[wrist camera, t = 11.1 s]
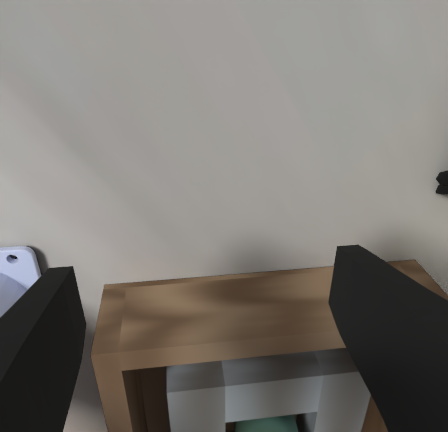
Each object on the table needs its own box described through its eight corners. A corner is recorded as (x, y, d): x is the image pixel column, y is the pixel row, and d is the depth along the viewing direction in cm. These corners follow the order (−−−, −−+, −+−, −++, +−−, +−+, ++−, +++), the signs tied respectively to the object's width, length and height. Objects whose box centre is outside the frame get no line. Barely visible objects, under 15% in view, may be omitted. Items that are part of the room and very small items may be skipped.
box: (143, 499, 33) (141, 574, 29) (104, 284, 22) (90, 354, 18) (356, 469, 35) (383, 536, 31) (415, 259, 24) (468, 317, 20)
